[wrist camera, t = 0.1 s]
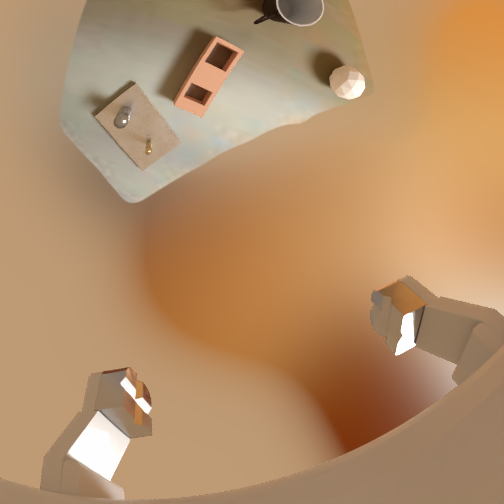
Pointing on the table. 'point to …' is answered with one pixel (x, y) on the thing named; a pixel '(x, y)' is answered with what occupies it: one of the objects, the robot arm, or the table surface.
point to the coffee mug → (293, 11)
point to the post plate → (138, 127)
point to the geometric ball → (347, 82)
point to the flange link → (206, 78)
